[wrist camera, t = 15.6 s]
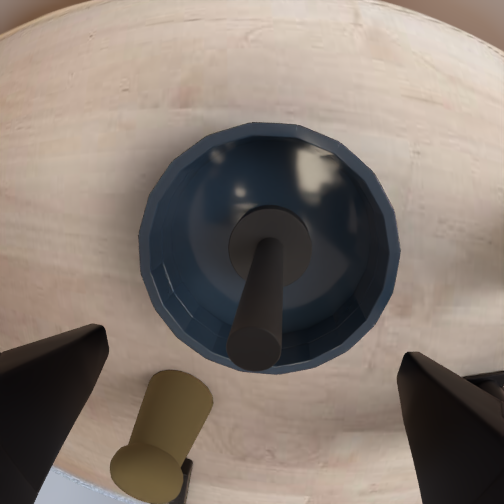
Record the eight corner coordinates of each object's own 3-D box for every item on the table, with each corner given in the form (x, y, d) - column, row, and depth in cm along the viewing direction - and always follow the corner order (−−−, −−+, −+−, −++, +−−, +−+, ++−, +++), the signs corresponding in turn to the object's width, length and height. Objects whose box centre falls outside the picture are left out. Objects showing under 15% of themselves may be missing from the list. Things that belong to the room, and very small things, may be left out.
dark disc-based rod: (313, 208, 19) (355, 275, 8) (305, 283, 21) (324, 415, 9) (233, 202, 20) (165, 260, 8) (230, 277, 21) (175, 399, 10)
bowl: (386, 143, 18) (412, 139, 14) (358, 341, 22) (371, 377, 18) (167, 130, 19) (137, 124, 15) (170, 326, 23) (149, 359, 19)
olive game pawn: (146, 363, 25) (88, 455, 14) (215, 378, 24) (180, 486, 14) (150, 410, 27) (107, 496, 16) (211, 424, 26) (184, 520, 16)
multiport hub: (193, 460, 28) (188, 475, 26) (185, 507, 33) (181, 519, 30) (154, 448, 28) (148, 463, 26) (155, 498, 33) (150, 510, 31)
